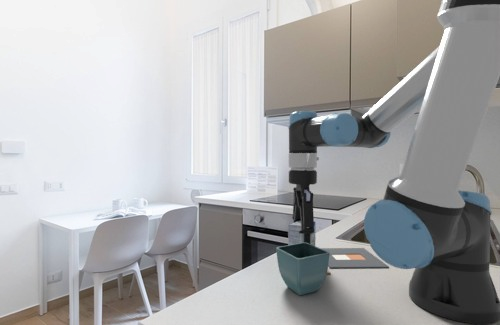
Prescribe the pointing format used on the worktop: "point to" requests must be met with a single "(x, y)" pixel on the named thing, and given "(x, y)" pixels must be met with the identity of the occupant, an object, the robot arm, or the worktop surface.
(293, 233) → the medicine box
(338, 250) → the mat
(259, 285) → the worktop surface
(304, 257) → the flower pot
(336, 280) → the worktop surface
